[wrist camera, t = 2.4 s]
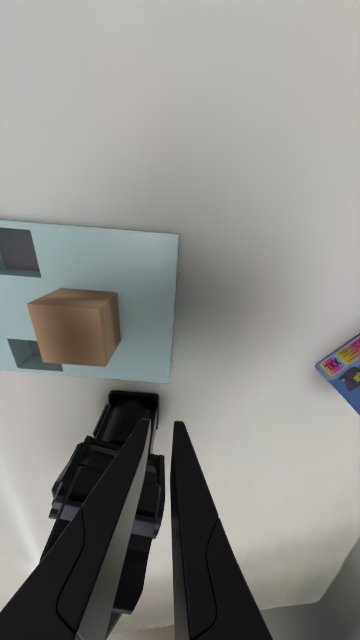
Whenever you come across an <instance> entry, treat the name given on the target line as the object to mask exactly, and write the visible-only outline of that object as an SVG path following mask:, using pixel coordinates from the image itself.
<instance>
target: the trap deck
mask: <svg viewBox="0 0 360 640" xmlns="http://www.w3.org/2000/svg"><path fill="white" fill-rule="evenodd" d="M178 248H179V234H172V233H160V232H147V231H135V230H123V229H110V228H98V227H86V226H73V225H61V224H49V223H36V222H24V221H12V220H0V370H2V371H15V372H28V373H41V374H54V375H67V376H80V377H93V378H106V379H119V380H132V381H145V382H158V383H169V378H170V369H171V354H172V339H173V324H174V308H175V293H176V278H177V263H178ZM59 288H70V289H82V290H95V291H108V292H118V305H119V320H120V335H121V342H120V343H119V345H118V347H117V349H116V350H115V352H114V354H113V355H112V357H111V359H110V361H109V362H108V364H107V366H106V367H97V366H84V365H71V364H58V363H45V362H43V360H42V356H41V353H40V349H39V346H38V342H37V339H36V335H35V332H34V328H33V325H32V321H31V318H30V314H29V311H28V307H27V303H29V302H31V301H33V300H36V299H38V298H40V297H42V296H44V295H46V294H48V293H51V292H53V291H55V290H57V289H59Z"/></svg>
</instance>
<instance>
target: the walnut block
mask: <svg viewBox="0 0 360 640" xmlns="http://www.w3.org/2000/svg"><path fill="white" fill-rule="evenodd" d="M27 307H28V311H29V314H30V318H31V321H32V325H33V328H34V332H35V335H36V339H37V342H38V346H39V349H40V353H41V356H42V360H43V362H45V363H58V364H71V365H84V366H97V367H106V366H107V364H108V362H109V361H110V359H111V357H112V355H113V354H114V352H115V350H116V349H117V347H118V345H119V343H120V342H121V335H120V320H119V305H118V292H108V291H95V290H82V289H70V288H59V289H57V290H55V291H53V292H51V293H48V294H46V295H44V296H42V297H40V298H38V299H36V300H33V301H31V302H29V303H27Z"/></svg>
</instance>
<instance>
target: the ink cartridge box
mask: <svg viewBox="0 0 360 640" xmlns="http://www.w3.org/2000/svg"><path fill="white" fill-rule="evenodd" d="M316 369H317V370H318V372H319V373H321V374H322V375H323V376H324V377H325V378H326V379H327V380H328V381H329V382H330V383H331V384H332V386H333V387H334V388H335V389H336V390H337V391H338V392H339V393H340V394H341V395H342V396H343V397H344V398H345V400H346V401H347V402H348V403H349V404H350V405H351V406H352V407H353V408H354V410H355V411H356V412H357V413H358V414H359V415H360V335H358V336H357V337H356V338H354V339H353V340H351V341H350V342H348V343H347V344H345V345H344V346H342V347H341V348H339V349H338V350H337V351H335V352H334V353H332V354H331V355H329V356H328V357H326V358H325V359H323V360H322V361H320V362H319V363H318V364H316Z"/></svg>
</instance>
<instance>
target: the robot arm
mask: <svg viewBox="0 0 360 640" xmlns="http://www.w3.org/2000/svg"><path fill="white" fill-rule="evenodd" d="M155 398H156V399H155ZM109 404H110V405H108V404H107V405H106V406H105V408H104V410H103V412H102V414H101V416H100V419H99V421H98V423H97V425H96V427H95V429H94V432H93V437H94V438H92V437H91V436H88V435H87V437H86V439H85V441H84V442H82V443H80V444H78V445H77V447H76V449H75V451H74V453H73V455H72V457H71V458H70V460H69V462H68V464H67V465H66V467H65V468H64V470H63V471H62V473H61V474H60V476H59V477H58V479H57V480H56V482H55V484H54V486H53V488H52V494H53V498H54V499H53V502H52V509H51V511H50V514H49V518H51V519H56V522H55V524H54V526H53V529H52V531H51V534H50V536H49V539H48V541H47V543H46V546H45V548H44V551H43V553H42V555H41V558H40V562H39V564H38V566H37V567H36V568H35V570H34V571H33V572H32V573H31V574H30V576H29V577H28V578H27V579H26V581H25V582H24V583H23V584H22V586H21V587H20V588H19V589H18V591H17V592H16V593H15V594H14V596H13V597H12V598H11V599H10V601H9V602H8V603H7V604H6V606H5V607H4V608H3V609H2V611H1V612H0V640H106V639H107V637H108V636H109V634H110V633H111V631H112V629H113V628H114V626H115V624H116V623H117V621H118V620H119V618H120V616H121V615H122V613H124V614H131V613H132V612H133V610H134V608H135V606H136V604H137V602H138V600H139V598H140V596H141V593H142V591H143V585H144V579H145V573H146V566H147V561H148V555H149V551H150V546H151V542H152V539H155V538H156V536H157V534H158V532H159V529H160V525H161V521H162V517H163V511H164V504H165V466H164V456H163V455H155V454H152V451H153V444H154V438H155V431H156V430H157V429H158V413H159V396H158V395H156V394H144V393H131V392H118V391H111V392H110V393H109ZM170 493H171V526H172V559H173V591H174V624H175V640H273V638H272V636H271V634H270V632H269V630H268V628H267V625H266V623H265V621H264V619H263V617H262V615H261V613H260V611H259V608H258V606H257V604H256V602H255V600H254V598H253V596H252V594H251V591H250V589H249V587H248V585H247V583H246V581H245V579H244V576H243V574H242V572H241V570H240V567H239V565H238V563H237V561H236V558H235V556H234V554H233V551H232V549H231V546H230V544H229V541H228V539H227V536H226V534H225V531H224V528H223V526H222V523H221V520H220V518H218V513H217V510H216V507H215V504H214V502H213V499H212V496H211V494H210V491H209V488H208V486H207V483H206V480H205V478H204V475H203V472H202V470H201V467H200V464H199V462H198V459H197V456H196V454H195V451H194V448H193V445H192V443H191V440H190V437H189V435H188V432H187V429H186V427H185V424H184V422H182V421H175V422H174V430H173V443H172V457H171V472H170Z"/></svg>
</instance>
